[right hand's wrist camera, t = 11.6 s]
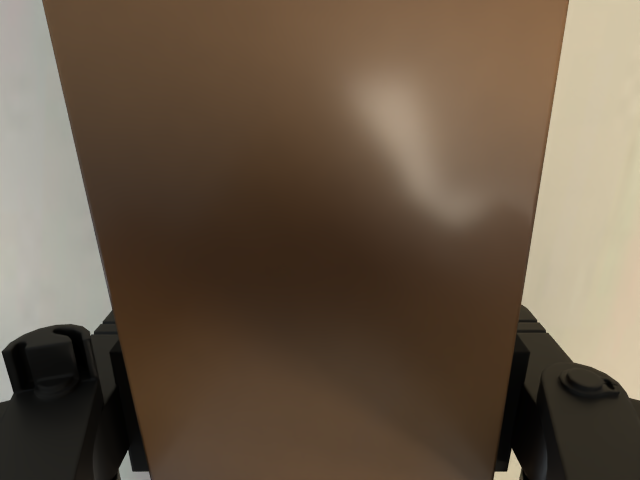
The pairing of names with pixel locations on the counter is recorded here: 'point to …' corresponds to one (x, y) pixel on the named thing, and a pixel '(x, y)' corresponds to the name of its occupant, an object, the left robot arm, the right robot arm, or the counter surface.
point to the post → (313, 222)
